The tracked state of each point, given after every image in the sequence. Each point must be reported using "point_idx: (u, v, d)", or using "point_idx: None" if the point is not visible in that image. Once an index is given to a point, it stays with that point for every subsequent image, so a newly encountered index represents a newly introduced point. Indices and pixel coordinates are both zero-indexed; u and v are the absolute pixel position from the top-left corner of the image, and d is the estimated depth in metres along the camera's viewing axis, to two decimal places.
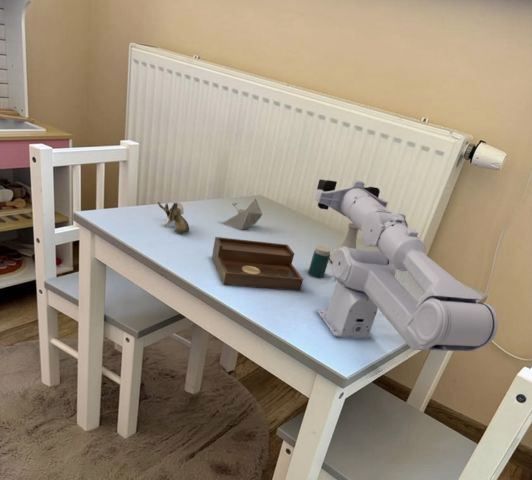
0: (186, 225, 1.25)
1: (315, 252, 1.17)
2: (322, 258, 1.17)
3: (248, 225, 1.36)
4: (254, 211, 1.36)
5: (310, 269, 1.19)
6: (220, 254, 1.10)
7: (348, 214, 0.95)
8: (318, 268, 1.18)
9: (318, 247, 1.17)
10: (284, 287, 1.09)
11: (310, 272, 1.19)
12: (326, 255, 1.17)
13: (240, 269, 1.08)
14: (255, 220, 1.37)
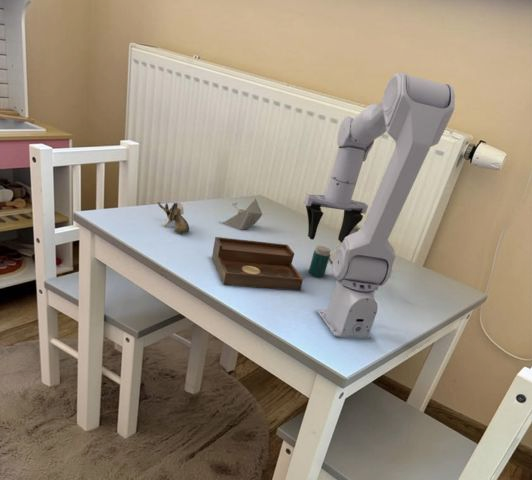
0: (186, 225, 1.25)
1: (315, 252, 1.17)
2: (322, 258, 1.17)
3: (248, 225, 1.36)
4: (254, 211, 1.36)
5: (310, 269, 1.19)
6: (220, 254, 1.10)
7: (334, 180, 1.08)
8: (318, 268, 1.18)
9: (318, 247, 1.17)
10: (284, 287, 1.09)
11: (310, 272, 1.19)
12: (326, 255, 1.17)
13: (240, 269, 1.08)
14: (255, 220, 1.37)
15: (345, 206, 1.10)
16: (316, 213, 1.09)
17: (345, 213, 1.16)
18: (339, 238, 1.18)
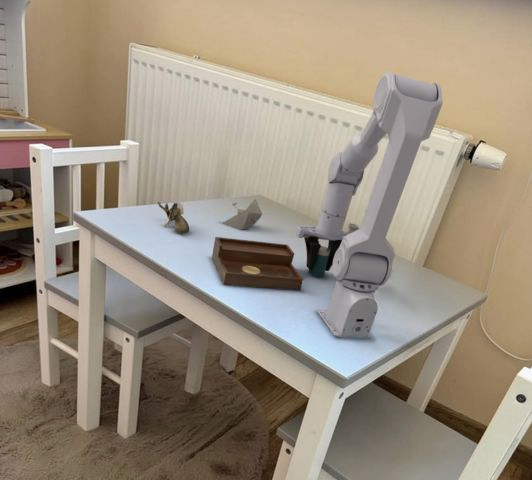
0: (186, 225, 1.25)
1: None
2: (322, 258, 1.17)
3: (248, 225, 1.36)
4: (254, 211, 1.36)
5: None
6: (220, 254, 1.10)
7: (324, 214, 1.11)
8: (318, 267, 1.18)
9: None
10: (284, 287, 1.09)
11: (310, 272, 1.19)
12: (326, 255, 1.17)
13: (240, 269, 1.08)
14: (255, 220, 1.37)
15: (335, 238, 1.13)
16: (314, 246, 1.13)
17: (330, 242, 1.19)
18: None
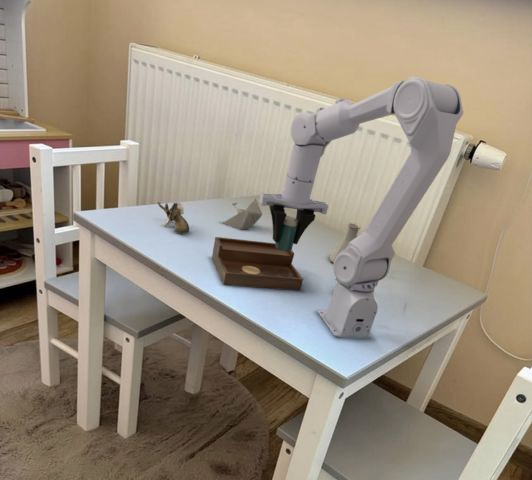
0: (186, 225, 1.25)
1: None
2: (289, 229, 1.07)
3: (248, 225, 1.36)
4: (254, 211, 1.36)
5: None
6: (220, 254, 1.10)
7: (290, 179, 1.01)
8: (284, 239, 1.08)
9: None
10: (284, 287, 1.09)
11: (276, 245, 1.09)
12: (293, 225, 1.07)
13: (240, 269, 1.08)
14: (255, 220, 1.37)
15: (302, 206, 1.03)
16: (279, 214, 1.03)
17: (298, 212, 1.09)
18: None
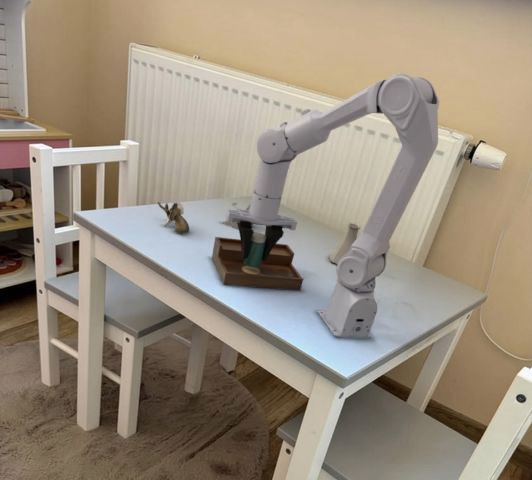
0: (186, 225, 1.25)
1: None
2: (257, 246, 1.04)
3: None
4: None
5: None
6: (220, 254, 1.10)
7: (256, 195, 0.99)
8: (252, 256, 1.06)
9: None
10: (284, 287, 1.09)
11: (245, 261, 1.07)
12: (261, 242, 1.04)
13: (240, 269, 1.08)
14: None
15: (270, 223, 1.01)
16: (245, 231, 1.01)
17: (266, 228, 1.06)
18: None
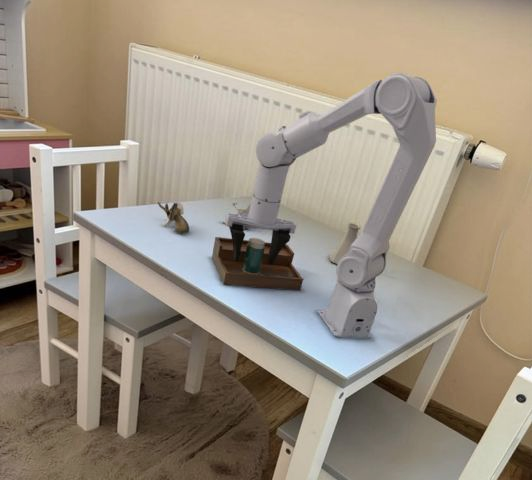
0: (186, 225, 1.25)
1: (248, 245, 1.06)
2: (255, 252, 1.05)
3: None
4: None
5: (243, 264, 1.08)
6: (220, 254, 1.10)
7: (255, 199, 1.00)
8: (251, 262, 1.06)
9: (251, 239, 1.06)
10: (284, 287, 1.09)
11: (243, 267, 1.08)
12: (259, 248, 1.05)
13: (240, 269, 1.08)
14: None
15: (269, 226, 1.02)
16: (237, 234, 1.01)
17: (273, 232, 1.07)
18: (268, 259, 1.09)
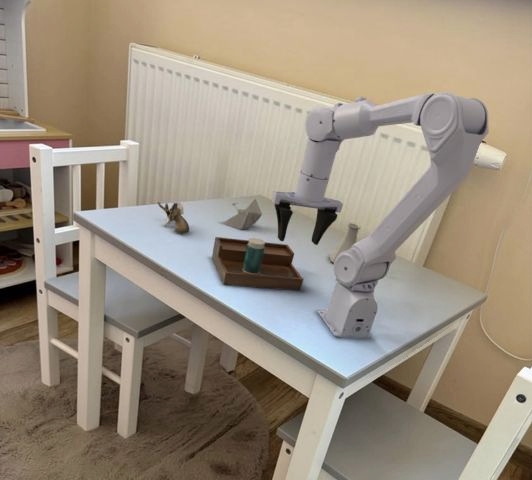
0: (186, 225, 1.25)
1: (248, 245, 1.06)
2: (255, 252, 1.05)
3: (248, 225, 1.36)
4: (254, 211, 1.36)
5: (243, 264, 1.08)
6: (220, 254, 1.10)
7: (304, 176, 0.97)
8: (251, 262, 1.06)
9: (251, 239, 1.06)
10: (284, 287, 1.09)
11: (243, 267, 1.08)
12: (259, 248, 1.05)
13: (240, 269, 1.08)
14: (255, 220, 1.37)
15: (317, 204, 0.99)
16: (285, 212, 0.99)
17: (319, 211, 1.05)
18: (312, 239, 1.07)
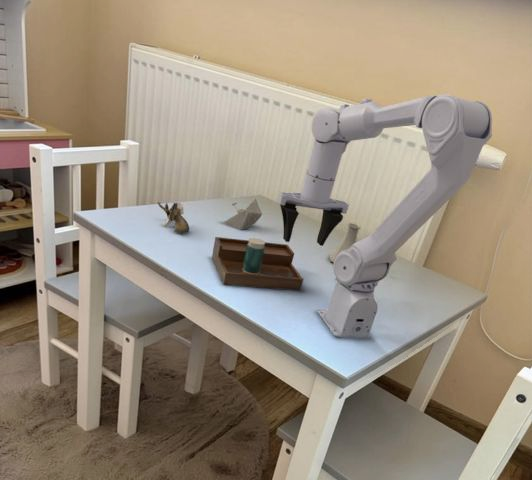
0: (186, 225, 1.25)
1: (248, 245, 1.06)
2: (255, 252, 1.05)
3: (248, 225, 1.36)
4: (254, 211, 1.36)
5: (243, 264, 1.08)
6: (220, 254, 1.10)
7: (310, 177, 0.97)
8: (251, 262, 1.06)
9: (251, 239, 1.06)
10: (284, 287, 1.09)
11: (243, 267, 1.08)
12: (259, 248, 1.05)
13: (240, 269, 1.08)
14: (255, 220, 1.37)
15: (323, 205, 0.99)
16: (291, 213, 0.99)
17: (324, 212, 1.05)
18: (318, 240, 1.07)
